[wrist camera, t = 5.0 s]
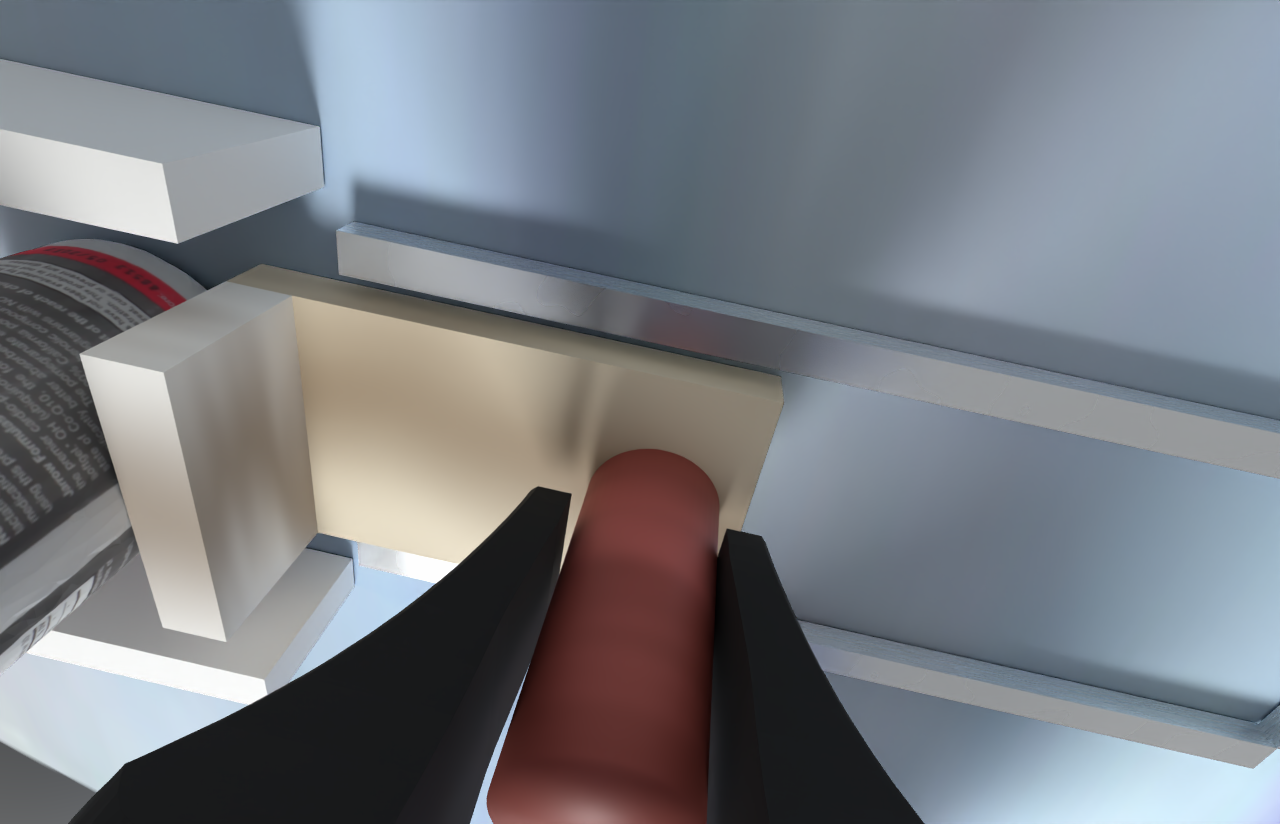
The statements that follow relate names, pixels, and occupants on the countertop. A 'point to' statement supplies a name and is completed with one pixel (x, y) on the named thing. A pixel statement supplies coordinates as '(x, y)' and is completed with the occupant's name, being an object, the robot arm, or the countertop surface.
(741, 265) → the countertop surface
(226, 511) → the red peg in tray
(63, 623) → the frame
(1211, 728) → the track
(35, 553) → the pill bottle
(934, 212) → the countertop surface
